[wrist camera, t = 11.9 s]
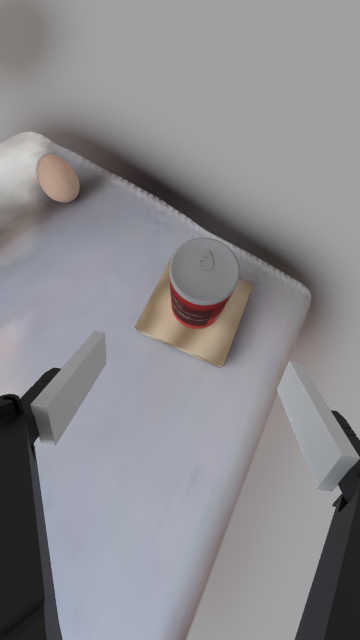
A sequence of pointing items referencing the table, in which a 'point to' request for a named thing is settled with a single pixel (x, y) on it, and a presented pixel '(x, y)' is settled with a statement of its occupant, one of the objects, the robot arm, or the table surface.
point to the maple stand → (196, 342)
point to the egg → (57, 178)
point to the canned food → (202, 281)
